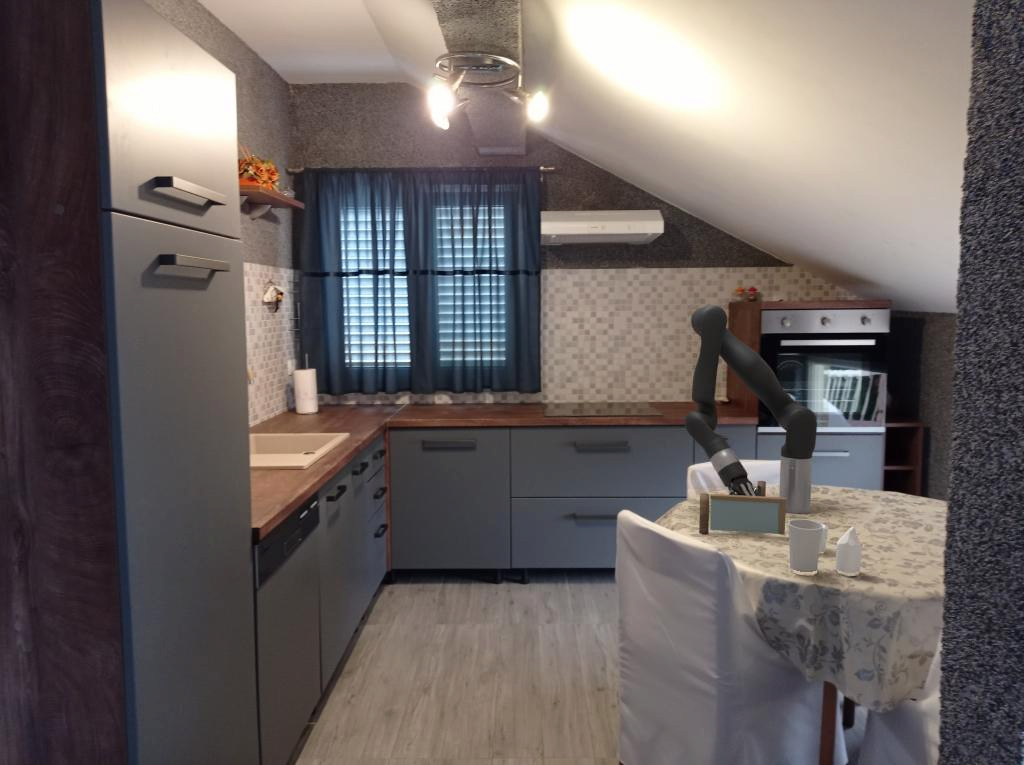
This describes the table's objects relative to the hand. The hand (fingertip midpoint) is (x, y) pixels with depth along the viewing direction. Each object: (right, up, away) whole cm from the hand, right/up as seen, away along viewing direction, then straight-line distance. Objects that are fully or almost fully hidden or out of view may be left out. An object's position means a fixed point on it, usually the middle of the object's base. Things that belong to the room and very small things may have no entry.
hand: (760, 518), depth 199 cm
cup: (+2, -8, -26) cm, 27 cm away
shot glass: (+10, -6, -12) cm, 17 cm away
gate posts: (-5, -4, +9) cm, 11 cm away
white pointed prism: (+12, -8, -27) cm, 31 cm away
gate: (-4, -4, 0) cm, 5 cm away
